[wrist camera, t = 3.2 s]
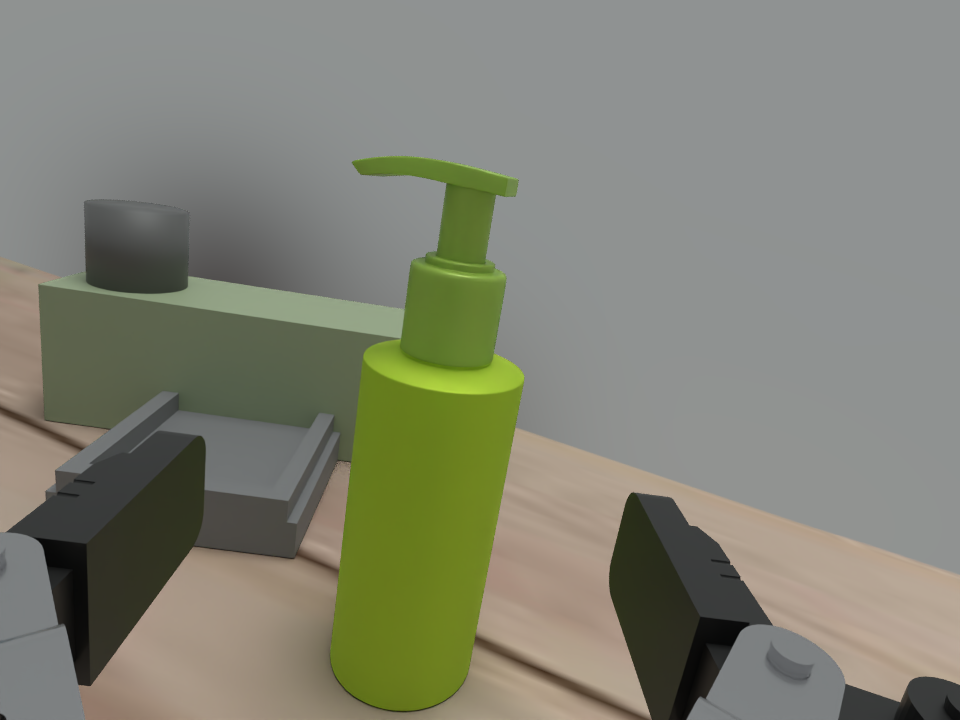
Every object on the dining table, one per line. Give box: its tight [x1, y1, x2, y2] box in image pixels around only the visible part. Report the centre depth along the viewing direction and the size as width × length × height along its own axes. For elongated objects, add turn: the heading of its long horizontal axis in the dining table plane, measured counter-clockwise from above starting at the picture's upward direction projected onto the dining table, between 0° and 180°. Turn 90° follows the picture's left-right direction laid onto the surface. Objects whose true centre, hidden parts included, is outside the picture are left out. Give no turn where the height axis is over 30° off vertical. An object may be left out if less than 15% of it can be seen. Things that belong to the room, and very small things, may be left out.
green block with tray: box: [38, 199, 405, 558], centre depth 38 cm, size 19×26×14 cm
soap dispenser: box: [330, 156, 524, 711], centre depth 24 cm, size 6×7×20 cm
